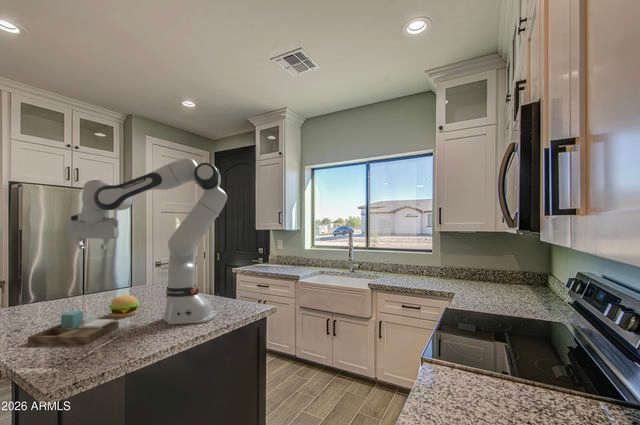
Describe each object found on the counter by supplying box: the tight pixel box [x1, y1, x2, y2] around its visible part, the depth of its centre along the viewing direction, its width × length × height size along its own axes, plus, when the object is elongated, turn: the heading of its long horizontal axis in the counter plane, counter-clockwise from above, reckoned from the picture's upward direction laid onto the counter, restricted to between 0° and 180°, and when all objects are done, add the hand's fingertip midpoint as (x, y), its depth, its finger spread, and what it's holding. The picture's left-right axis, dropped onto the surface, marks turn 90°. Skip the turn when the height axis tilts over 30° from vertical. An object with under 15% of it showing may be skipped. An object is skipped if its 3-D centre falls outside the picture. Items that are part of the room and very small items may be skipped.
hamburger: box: [108, 294, 141, 318], centre depth 135 cm, size 12×12×9 cm
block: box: [60, 310, 84, 328], centre depth 110 cm, size 4×4×7 cm
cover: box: [78, 314, 115, 328], centre depth 111 cm, size 8×8×3 cm
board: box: [27, 320, 120, 346], centre depth 107 cm, size 20×16×4 cm
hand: (92, 249), depth 126 cm, fingers open, 8 cm apart
